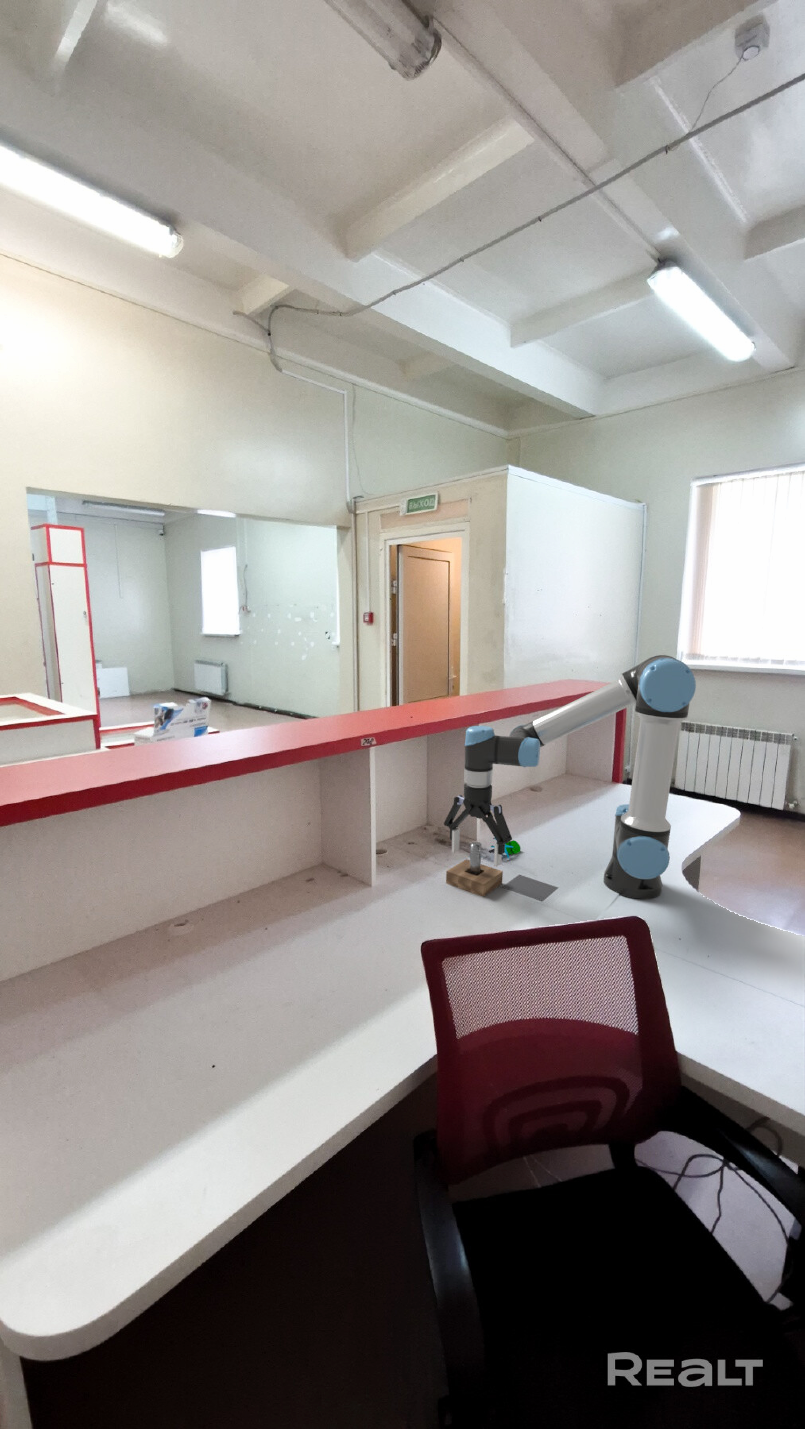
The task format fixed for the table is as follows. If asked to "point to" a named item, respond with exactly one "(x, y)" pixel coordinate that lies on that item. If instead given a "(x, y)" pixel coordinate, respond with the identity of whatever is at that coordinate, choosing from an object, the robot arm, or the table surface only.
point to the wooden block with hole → (474, 878)
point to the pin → (475, 858)
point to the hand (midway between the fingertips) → (476, 857)
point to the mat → (530, 887)
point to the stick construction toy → (509, 848)
